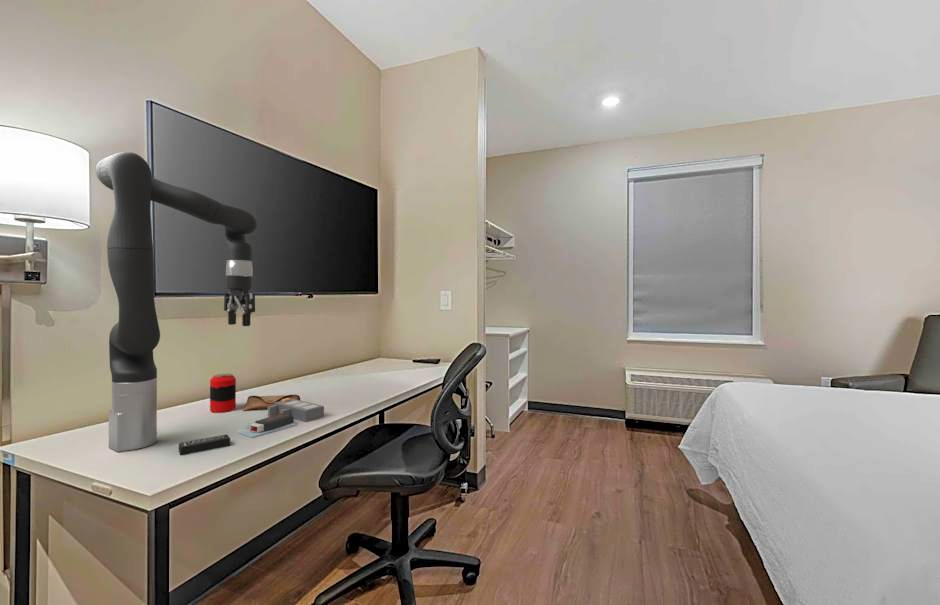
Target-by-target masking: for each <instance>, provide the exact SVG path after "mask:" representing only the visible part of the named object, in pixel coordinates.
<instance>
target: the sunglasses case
mask: <svg viewBox="0 0 940 605" xmlns="http://www.w3.org/2000/svg"><path fill="white" fill-rule="evenodd" d="M286 398H290V399H296V400H300V401H301V396H300V395H298V394H287V395H250V396H248V397H247V400H246V403H245V405H244V408H243V410H242V412H251V411H252V412H253V411H254V412H255V411H268V407H270V406H274V403H275V402H279V401H281V399H286Z"/></svg>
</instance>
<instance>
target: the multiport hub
mask: <svg viewBox="0 0 940 605" xmlns="http://www.w3.org/2000/svg"><path fill="white" fill-rule="evenodd" d="M229 446H231V437H230V436H229V435H228V434H221V435H215V436H210V437H203V438H199V439H192V440H188V441H183V442H179V443H178V447H177V448H178V454H179V456H187V455H192V454H197V453H201V452H206V451H210V450H216V449H220V448H225V447H229Z"/></svg>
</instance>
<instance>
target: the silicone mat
mask: <svg viewBox="0 0 940 605" xmlns="http://www.w3.org/2000/svg"><path fill="white" fill-rule="evenodd" d="M295 426H297V422H296V423H295V422H293V423H291V424H288V425H285V426H282V427H279V428H276V429H273V430H270V431H265V432H264V431H261V432H259V433H256V432H252V431H250V428H247V429H244V430H239V431H238V434H239V435H241V436H245V437H248V438H251V439H254V438H257V437H261V436H265V435H267V434H272V433H274V432H277V431H281V430H285V429H288V428H292V427H295Z"/></svg>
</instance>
